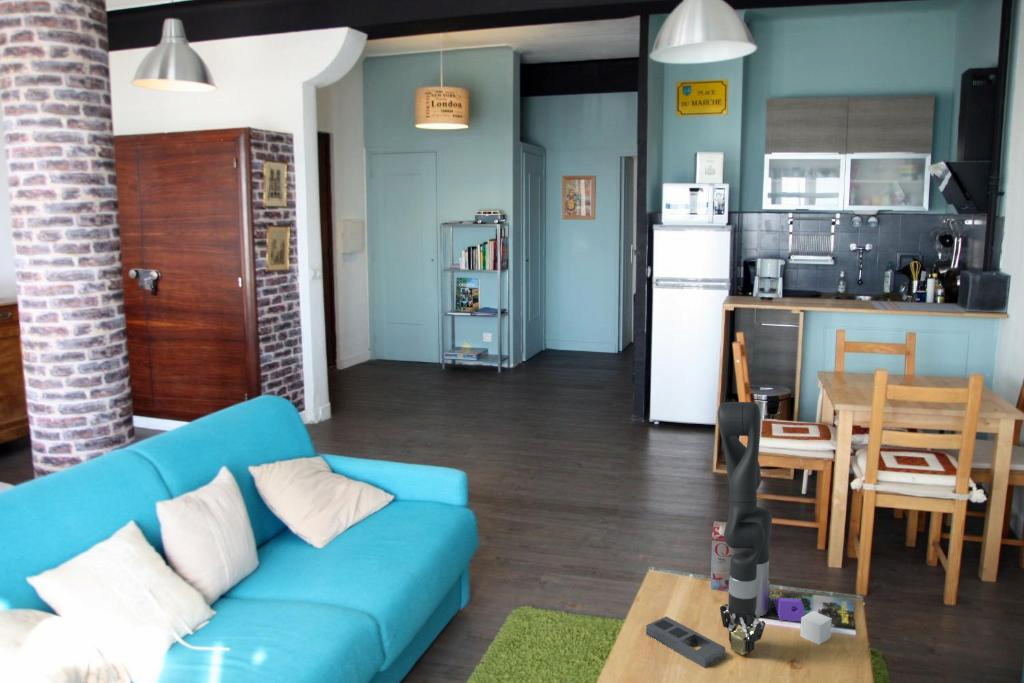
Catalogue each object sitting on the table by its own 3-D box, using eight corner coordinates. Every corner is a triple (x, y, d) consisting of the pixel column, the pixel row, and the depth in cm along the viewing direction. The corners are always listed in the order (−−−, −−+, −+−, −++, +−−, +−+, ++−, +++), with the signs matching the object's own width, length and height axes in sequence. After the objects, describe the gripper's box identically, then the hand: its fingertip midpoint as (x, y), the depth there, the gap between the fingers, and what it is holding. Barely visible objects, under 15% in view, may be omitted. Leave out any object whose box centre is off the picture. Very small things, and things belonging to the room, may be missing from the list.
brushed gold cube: (738, 643, 239) (739, 627, 238) (752, 650, 235) (753, 634, 234) (729, 648, 237) (730, 632, 236) (743, 655, 233) (744, 639, 232)
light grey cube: (800, 636, 244) (801, 617, 243) (811, 629, 248) (812, 610, 247) (819, 645, 240) (820, 625, 239) (830, 637, 244) (831, 618, 242)
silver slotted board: (666, 625, 252) (666, 615, 251) (725, 657, 234) (725, 647, 234) (646, 634, 247) (646, 625, 246) (704, 668, 229) (705, 657, 229)
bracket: (803, 623, 252) (804, 602, 251) (779, 622, 253) (780, 601, 252) (796, 604, 264) (797, 583, 262) (773, 602, 265) (774, 582, 263)
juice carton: (731, 592, 271) (733, 527, 267) (710, 589, 274) (712, 524, 270) (734, 583, 277) (736, 519, 273) (713, 580, 280) (715, 517, 276)
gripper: (773, 596, 229) (771, 653, 233) (730, 577, 241) (729, 632, 244) (756, 605, 225) (754, 663, 228) (713, 585, 236) (712, 641, 239)
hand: (741, 647), depth 236 cm, fingers closed on brushed gold cube, 4 cm apart
